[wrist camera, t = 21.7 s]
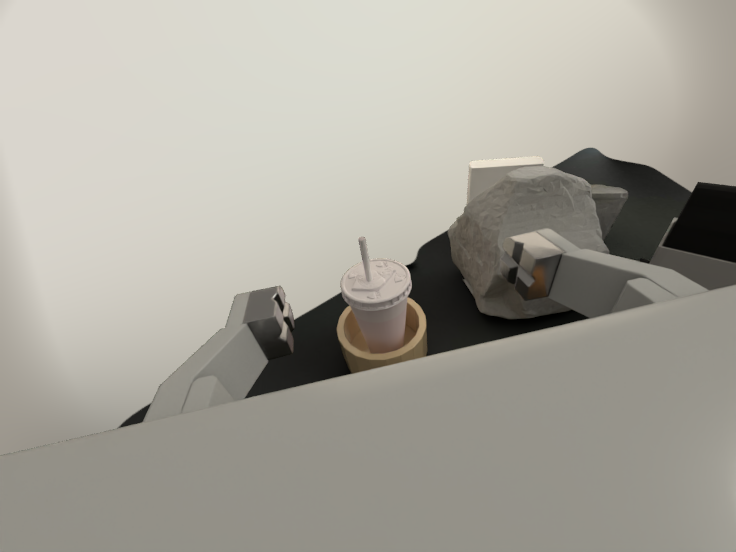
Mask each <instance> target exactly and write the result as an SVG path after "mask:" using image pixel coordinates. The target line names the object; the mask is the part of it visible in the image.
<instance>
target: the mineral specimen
mask: <svg viewBox="0 0 736 552" xmlns="http://www.w3.org/2000/svg"><path fill="white" fill-rule="evenodd" d="M591 189H592V199H593V200H594V202H595V206H596V214H597V216H598V218H599V223H600V229H601V231H602V240H603V241H604V239H605V237H606V235H607V234H608V233H609V231H610V229H611V227H612V226H613V223H614V222H615V220H616V219H617V217H618V215H619V213H620V211H621V208H622V206H623V204H624V202H625V201H626V200H627V196H628V193H629V192H627V191H625V190H624V189H621V188H620V187H608V186H604V185H591Z"/></svg>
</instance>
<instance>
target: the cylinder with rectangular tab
mask: <svg viewBox="0 0 736 552" xmlns="http://www.w3.org/2000/svg"><path fill="white" fill-rule="evenodd" d="M543 165H544V160H543V159H542V158H541V157H540V156H532V157H518V158H505V159H491V160H477V161H471V162H470V164H469V175H468V192H467V204H468V203H469V202H470V201H471V200H473V199H474V198H475V197H476V196H478V195H479V194H481V193H482V192H484V191H485V190H487V189H488V188H490V187H491V186H493V185H494V184H496V183H497V182H498V181H499V180H501V179H502V178H503V177H504V176H505V175H506V174H508V173H510V172H511V171H514V170H517V169H519V168H523V167H533V166H543Z"/></svg>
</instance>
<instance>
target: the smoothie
mask: <svg viewBox="0 0 736 552" xmlns="http://www.w3.org/2000/svg"><path fill="white" fill-rule="evenodd" d="M359 245H360V250H361V255H362V260H363V262H360V263H358V264H356V265H354V266H352V267H351V268H350V269H348V270H347V271H346V273H345V274H344V275H343V277H342V279H341V290H342V296H343V298H344V300H345V302H347V303H348V304H349V305H350V306H351V309H352V311H353V313H354V316H355V318H356V320H357V322H358V325H359V327H360V329H361V332H362V334H363V336H364V338H365V341H366V343H367V345H368V348H369V350H370V352H371V354H385V353H388V352H392V351H396V350H398V349H400V348H402V347H403V346H404V334H405V321H406V308H407V296H408V295H409V293H410V290H411V288H412V281H411V277H410V272H409V270H408V269H407V267H406V266H404V265H403V264H402V263H399V262H398V261H395V260H391V259H384V258H377V259H370V260H369V256H368V250H367V245H366V239H365V237H360V238H359Z"/></svg>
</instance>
